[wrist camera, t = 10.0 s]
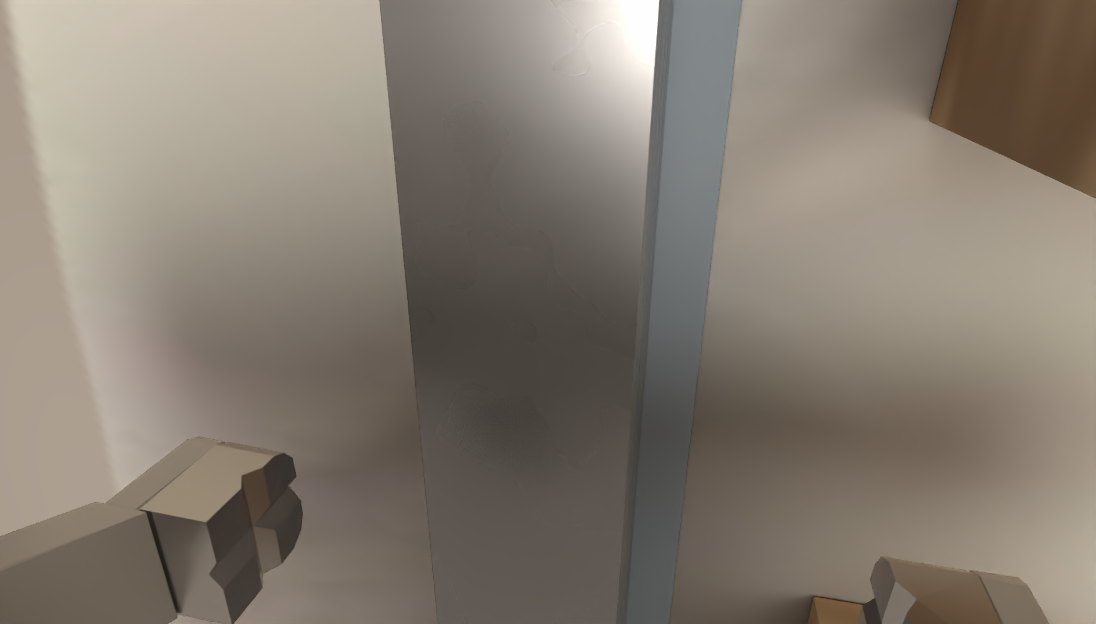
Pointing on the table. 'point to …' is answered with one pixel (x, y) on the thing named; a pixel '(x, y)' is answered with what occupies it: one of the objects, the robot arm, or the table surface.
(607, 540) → the bar
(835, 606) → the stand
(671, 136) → the grey flat bar
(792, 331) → the table surface
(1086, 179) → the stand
